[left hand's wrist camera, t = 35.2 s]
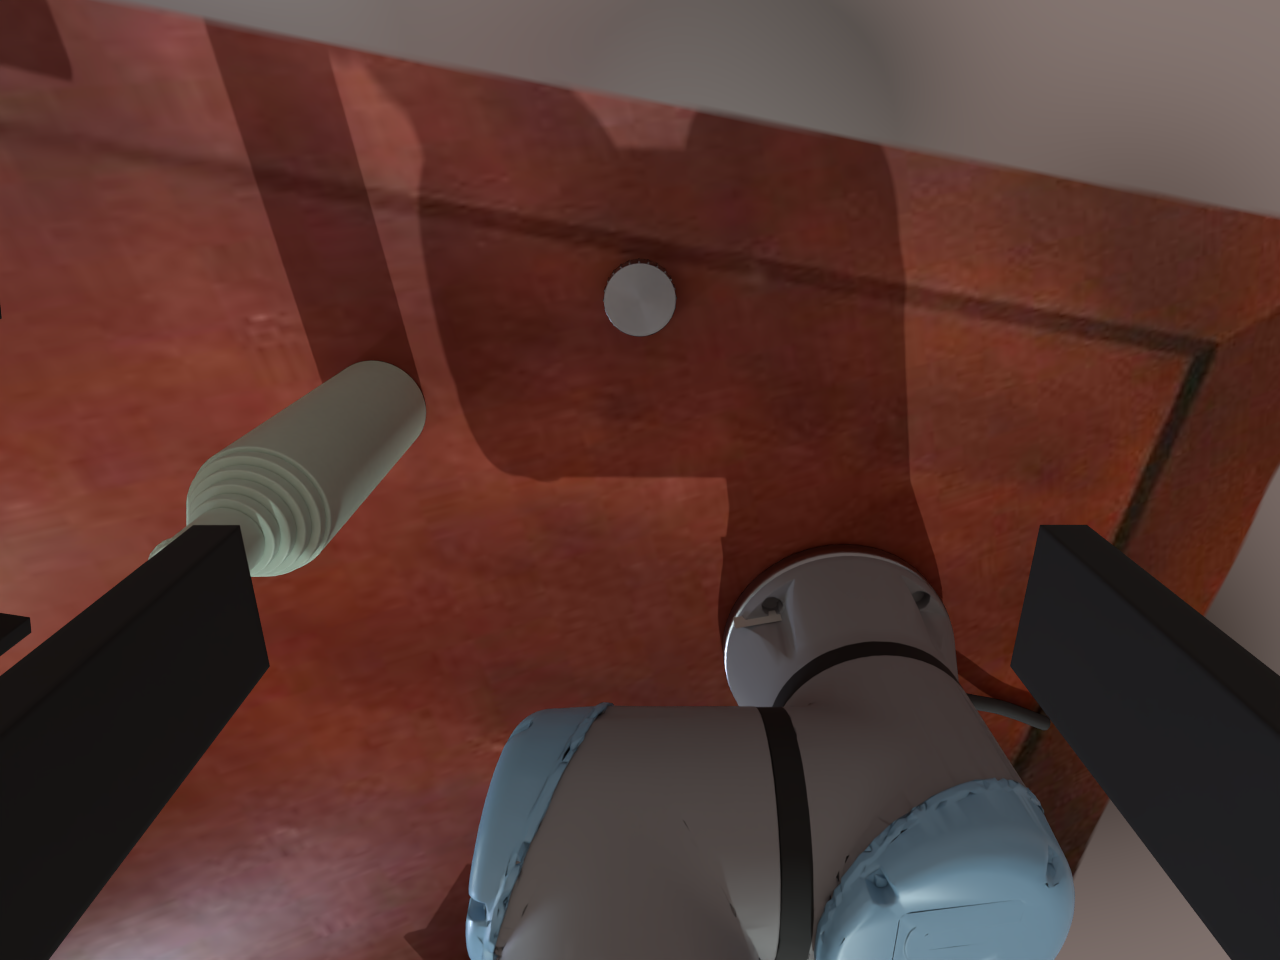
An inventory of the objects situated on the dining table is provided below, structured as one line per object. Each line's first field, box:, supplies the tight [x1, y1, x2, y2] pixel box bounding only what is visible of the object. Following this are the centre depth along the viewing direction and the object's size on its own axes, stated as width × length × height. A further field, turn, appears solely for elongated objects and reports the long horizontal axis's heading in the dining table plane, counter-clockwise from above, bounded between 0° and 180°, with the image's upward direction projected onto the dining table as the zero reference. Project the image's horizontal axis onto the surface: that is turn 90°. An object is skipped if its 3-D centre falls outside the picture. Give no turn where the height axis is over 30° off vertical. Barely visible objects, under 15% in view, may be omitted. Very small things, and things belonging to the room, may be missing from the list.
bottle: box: [149, 361, 426, 577], centre depth 37 cm, size 6×6×21 cm
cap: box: [603, 258, 677, 336], centre depth 44 cm, size 4×4×2 cm
